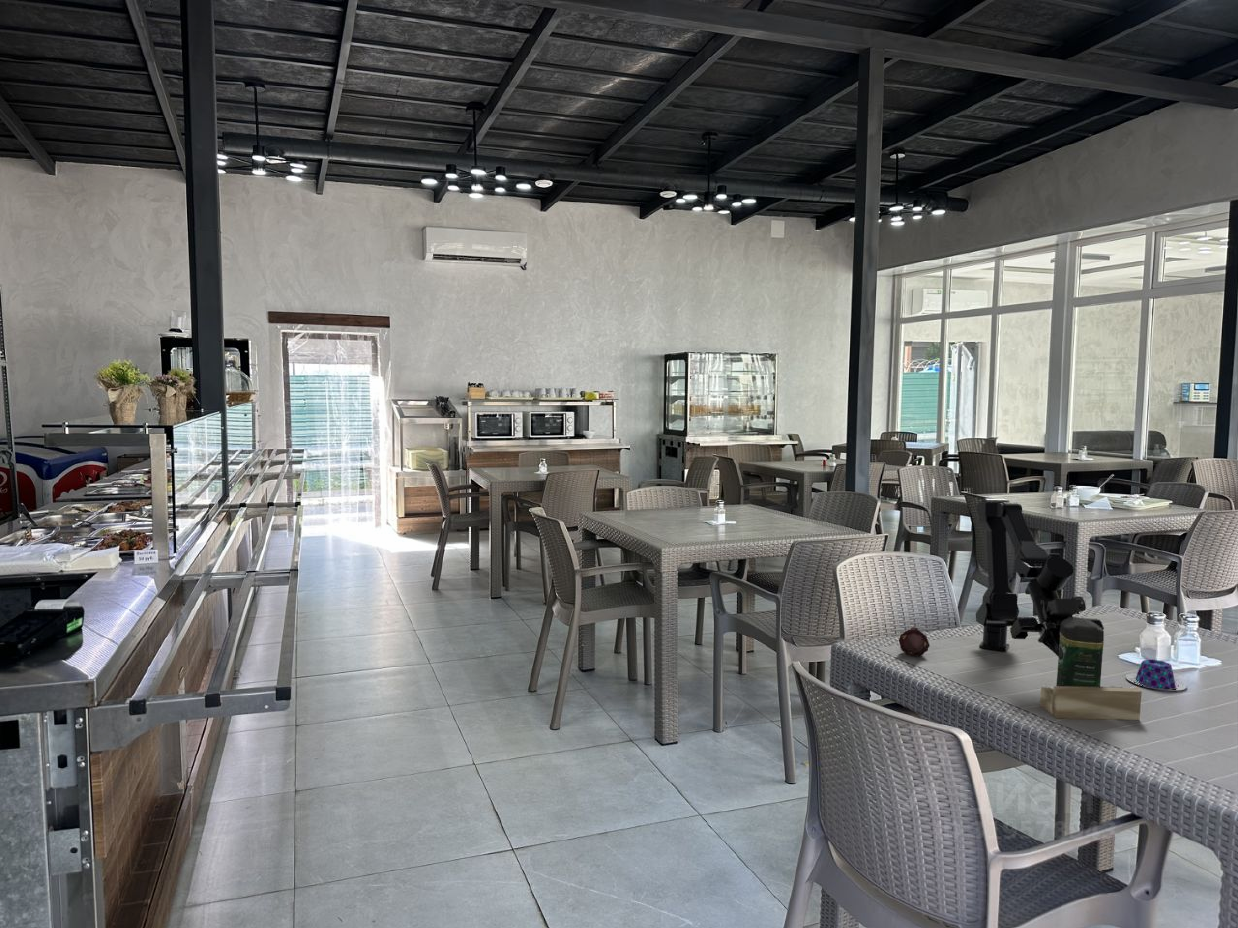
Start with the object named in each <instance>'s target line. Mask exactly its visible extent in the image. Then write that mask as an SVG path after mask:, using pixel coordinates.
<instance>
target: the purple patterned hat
mask: <svg viewBox="0 0 1238 928" xmlns="http://www.w3.org/2000/svg"><path fill="white" fill-rule="evenodd" d="M1137 670H1138V671H1137V672H1131V673H1127V674H1126V675H1125V678H1126V680H1128V681H1129V682H1131V683H1133V684H1135V685H1138V686H1142V685H1139V683H1140V684H1143V686H1142V687H1144V688H1148V689H1152V690H1153V689H1154V690H1157V689H1158V690H1160V691H1165V690H1166V689H1167V690H1166V691H1170V692H1171V691H1172V692H1173V691H1174V692H1175V691H1176V692H1177V691H1183V690H1186V688H1187V685H1186V684H1185V683H1184V682H1182V681H1180V680H1178V679H1176V678H1175V676H1174V671H1173V667H1172V665H1171V664H1170V663H1169V662H1166V661H1164V660H1158V659H1148V658H1147V659H1144V660H1142V661H1141V662H1140V666H1139V668H1138V669H1137ZM1134 676H1136V678H1135V679H1136V680H1137V681H1139V683H1138V682H1137V681H1136V682H1137V683H1138V684H1137V683H1134V682H1133V681H1131V680H1130V679H1129V678H1133V677H1134ZM1135 679H1134V680H1135ZM1175 681H1176V683H1177V684H1178V685H1179V688H1178V689H1176V688H1177V686H1176V685H1175ZM1145 685H1147V687H1146V686H1145ZM1148 686H1149V687H1148ZM1170 688H1175V689H1176V690H1172V689H1170Z"/></svg>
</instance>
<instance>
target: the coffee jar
mask: <svg viewBox="0 0 1238 928" xmlns="http://www.w3.org/2000/svg"><path fill="white" fill-rule="evenodd" d="M1104 634H1105V633H1104V629H1103V630H1102V628H1101V627H1099V626H1098V625H1097V624H1095V623H1094V622H1092V621H1090V620H1089V619H1087V618H1085V617H1076V616H1073V617H1068V618H1067V619H1065V620H1063V621H1062V622H1061V627H1060V645H1059V657H1058V660H1057V661H1058V662H1057V674H1056V685H1055V686H1062V687H1064V686H1097V687H1101V681H1102V680H1101V679H1102V678H1101V677H1102V669H1103V668H1102V665H1103V654H1104V643H1105V641H1104V639H1105V635H1104Z"/></svg>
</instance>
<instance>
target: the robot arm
mask: <svg viewBox="0 0 1238 928" xmlns="http://www.w3.org/2000/svg"><path fill="white" fill-rule="evenodd" d="M976 514H977V515H978V522H979V525H980V526H981V527H982V529H983V530H984V531H985V532H986V534H985V535H986V553H987V555H986V556H987V576H988V577H987V580H988V587H987V589H986V591H985V592H984V594H983V595H982V603H981V605H980V606H979V607H978V610H976V611H975V620H976V621H975V622H976V623H978V624H979V625H981V626H982V627H983V628H982V630H983V633H982V641H981V642H980V644H978V645H979V646H978V647H979V648H983V649H987V650H995V651H1000V652H1007V650H1008V649H1009V647H1010V644H1009V643H1007V637H1008V636H1007V635H1008V627H1010V629H1009V632H1010V636H1011V638H1012V639H1013V640H1025V639H1027V637H1028V636H1029V632H1030V633H1038V635H1039V637H1038V639H1037V641H1038V643H1039V644H1041V643H1042V644H1043V645H1044V646H1045V647H1046V648H1048V649H1049V650H1050V651H1052V652H1053V653H1054V654H1055V655H1056V656H1057V657H1058V658H1059V645H1060V627H1061V622H1062V621H1063V620H1065V619H1067V618H1068V617H1074V615H1079V614H1080V613H1081V612H1084V611H1085V610H1087V606H1086V601H1085V599H1084V597H1083V596H1077V595H1076V596H1073V597H1071V598H1060V596H1059V593H1058V591H1059V590H1060V591H1061V590H1062V589H1063V587H1064V586H1065V585H1066V584H1067V582H1068V581H1069V579H1070V578H1071V577H1072V576H1073V574H1074V566H1073V565H1072V564H1071V563H1070V562H1069V561H1068V560H1066V559H1065V558H1063V557H1060V553H1049V554H1048V553H1047V551H1046V550H1045V548H1042V547H1041V546H1039V545H1038V544H1037V542H1036V540H1035V539H1034V536H1033V535H1032V532H1031V530H1030V527H1029V525H1028V523H1027V521H1026V519H1025V517H1024V514H1023V506H1022V504H1020V503H1018V502H1010V501H1009V499H1007V498H982V499H981V501H980V502H978V503H977V505H976ZM1007 535H1008V536H1009V539H1010V541H1011V544H1012V546H1013V549H1014V550H1015V557H1014V559H1013V562H1014V563H1013V564H1014V569H1015V572H1016V573H1017V575H1018V577H1019V578H1022V579H1030V580H1029V582H1028V583H1027V585H1026V588H1025V591H1024V593H1025V594H1026V595H1030V598H1031V602H1032V604H1033V608H1034V609H1033V610H1032V613H1033V616H1019V614H1020V609H1019V606H1018V595H1017V593H1014V592H1013V591H1012V590H1011V588H1010V585H1009V569H1008V568H1009V567H1008V566H1009V565H1008V564H1009V563H1008V545H1007ZM1034 616H1037V618H1035V617H1034ZM1037 619H1038V620H1037ZM1087 619H1089V620H1090V621H1092V622H1094V623H1095V624H1097V625H1098V626H1099V627H1101V628H1102V630H1103V631H1104V629H1105V628H1104V625H1103V622H1102V621H1101V619H1099V618H1092V617H1091V618H1087Z"/></svg>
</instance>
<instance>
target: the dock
mask: <svg viewBox="0 0 1238 928" xmlns="http://www.w3.org/2000/svg"><path fill="white" fill-rule="evenodd" d="M1039 699H1040V700H1039V706H1040V707H1041V708H1043V709H1044V710H1045V711H1047V712H1048V713H1050V715H1052V716H1053V717H1054V718H1055V719H1075V720H1076V719H1077V720H1078V719H1082V720H1083V719H1084V720H1087V719H1089V720H1121V721H1123V720H1126V721H1127V720H1128V721H1131V720H1132V721H1140V718H1141V707H1142V706H1141V704H1142V691H1141V690H1139V689H1138V688H1136V687H1123V686H1100V687H1097V686H1064V687H1062V686H1056V685H1055V686H1053V688H1052V687H1047V686H1045V687H1044V686H1042V687H1040V698H1039Z"/></svg>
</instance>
